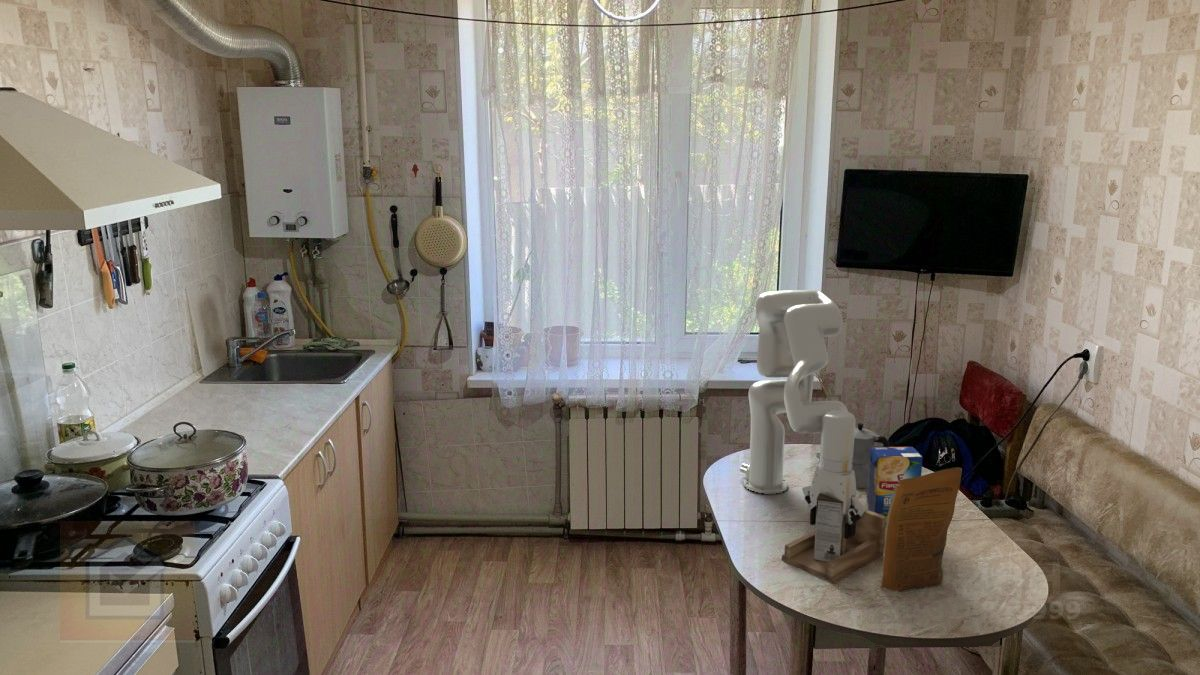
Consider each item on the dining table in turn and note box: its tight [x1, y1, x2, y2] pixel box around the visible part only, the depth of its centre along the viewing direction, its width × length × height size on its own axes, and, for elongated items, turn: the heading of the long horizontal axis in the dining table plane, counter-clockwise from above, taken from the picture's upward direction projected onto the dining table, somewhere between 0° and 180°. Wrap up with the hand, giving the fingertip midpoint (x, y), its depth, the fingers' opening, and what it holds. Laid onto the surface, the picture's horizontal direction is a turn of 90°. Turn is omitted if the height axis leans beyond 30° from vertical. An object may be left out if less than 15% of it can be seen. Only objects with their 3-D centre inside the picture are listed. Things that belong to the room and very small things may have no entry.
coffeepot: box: [852, 422, 891, 489], centre depth 257 cm, size 15×9×18 cm, turn 51°
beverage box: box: [865, 446, 924, 540], centre depth 226 cm, size 7×11×22 cm, turn 91°
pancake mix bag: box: [880, 466, 963, 592], centre depth 200 cm, size 7×19×28 cm, turn 106°
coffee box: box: [814, 493, 847, 562], centre depth 214 cm, size 9×6×16 cm
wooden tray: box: [781, 508, 886, 584], centre depth 215 cm, size 15×20×10 cm
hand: (831, 530), depth 214 cm, fingers open, 9 cm apart
